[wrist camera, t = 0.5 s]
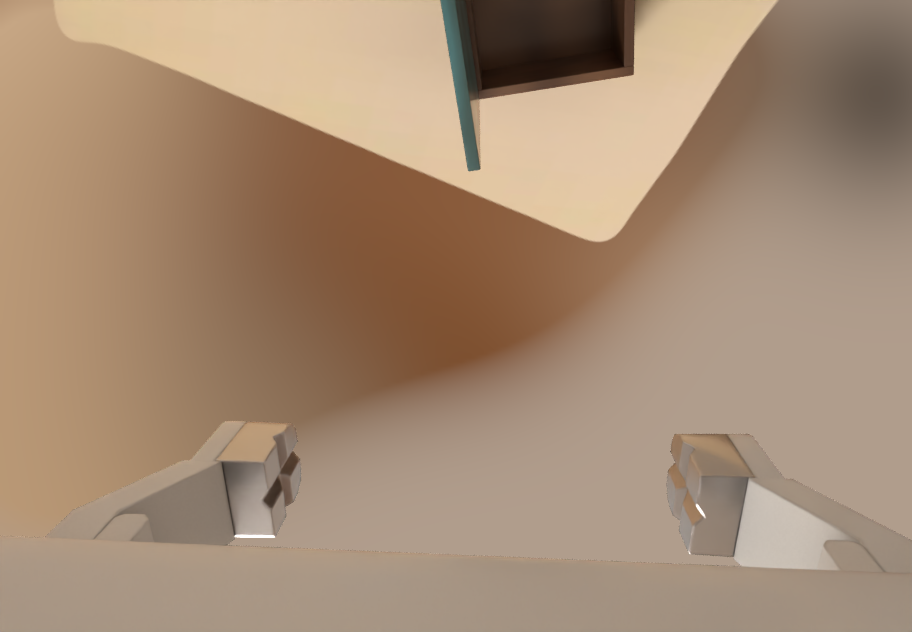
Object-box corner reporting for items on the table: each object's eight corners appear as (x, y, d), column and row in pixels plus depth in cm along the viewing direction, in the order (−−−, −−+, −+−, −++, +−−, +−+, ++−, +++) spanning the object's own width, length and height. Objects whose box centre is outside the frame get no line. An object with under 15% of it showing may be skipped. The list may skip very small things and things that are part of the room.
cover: (448, -45, 32) (433, -42, 32) (480, 170, 40) (468, 171, 40) (455, -70, 44) (444, -68, 44) (479, 101, 51) (469, 103, 51)
